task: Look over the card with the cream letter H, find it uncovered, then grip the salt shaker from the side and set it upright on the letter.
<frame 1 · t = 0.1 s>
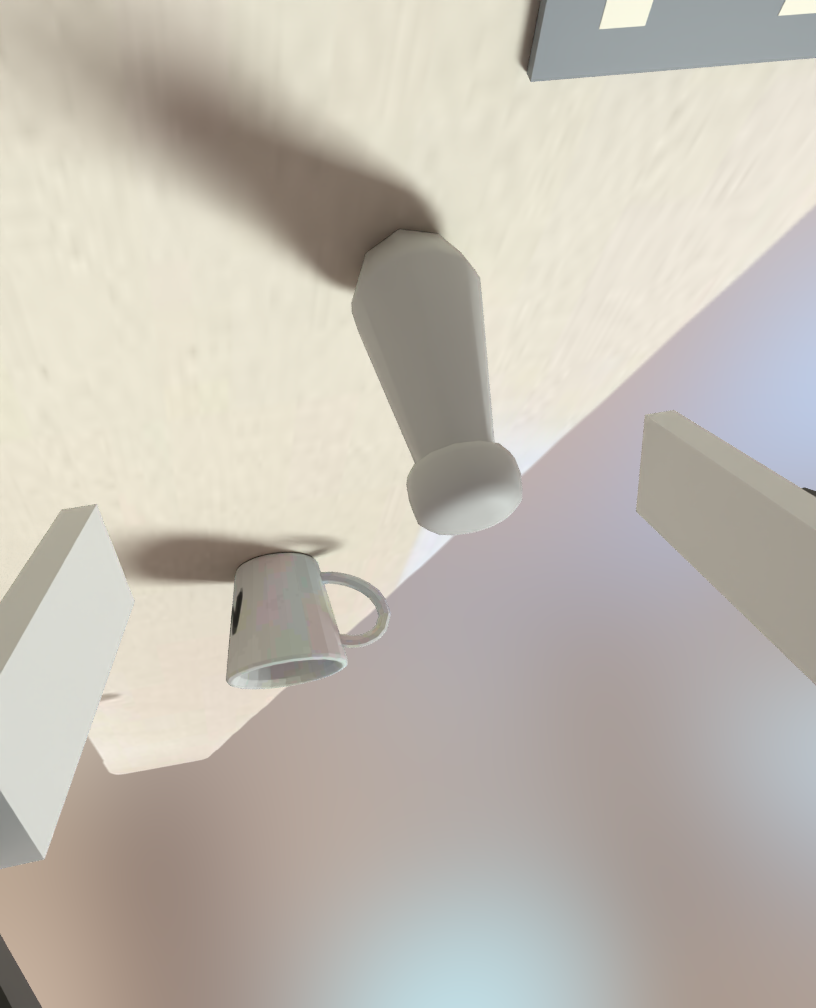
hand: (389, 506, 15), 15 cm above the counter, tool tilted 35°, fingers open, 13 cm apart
salt shaker: (406, 262, 29), on the counter
mug: (300, 560, 58), on the counter
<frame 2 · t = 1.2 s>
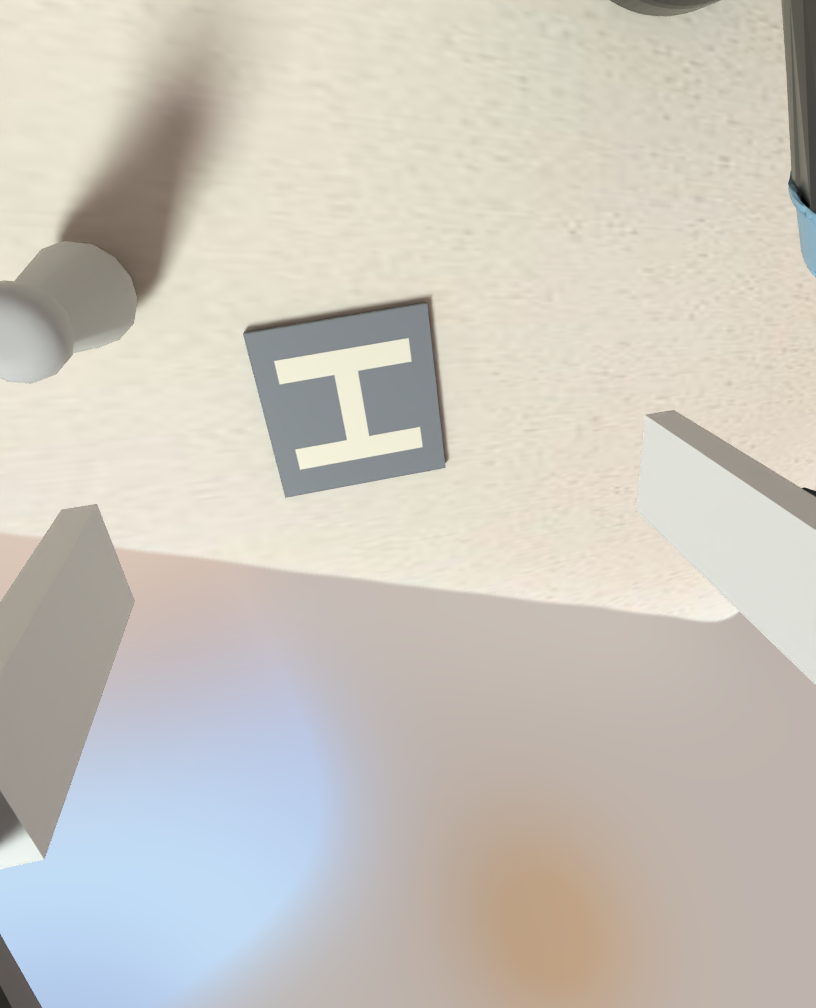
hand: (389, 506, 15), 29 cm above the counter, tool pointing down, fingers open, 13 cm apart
letter card: (351, 403, 44), on the counter
salt shaker: (95, 288, 38), on the counter
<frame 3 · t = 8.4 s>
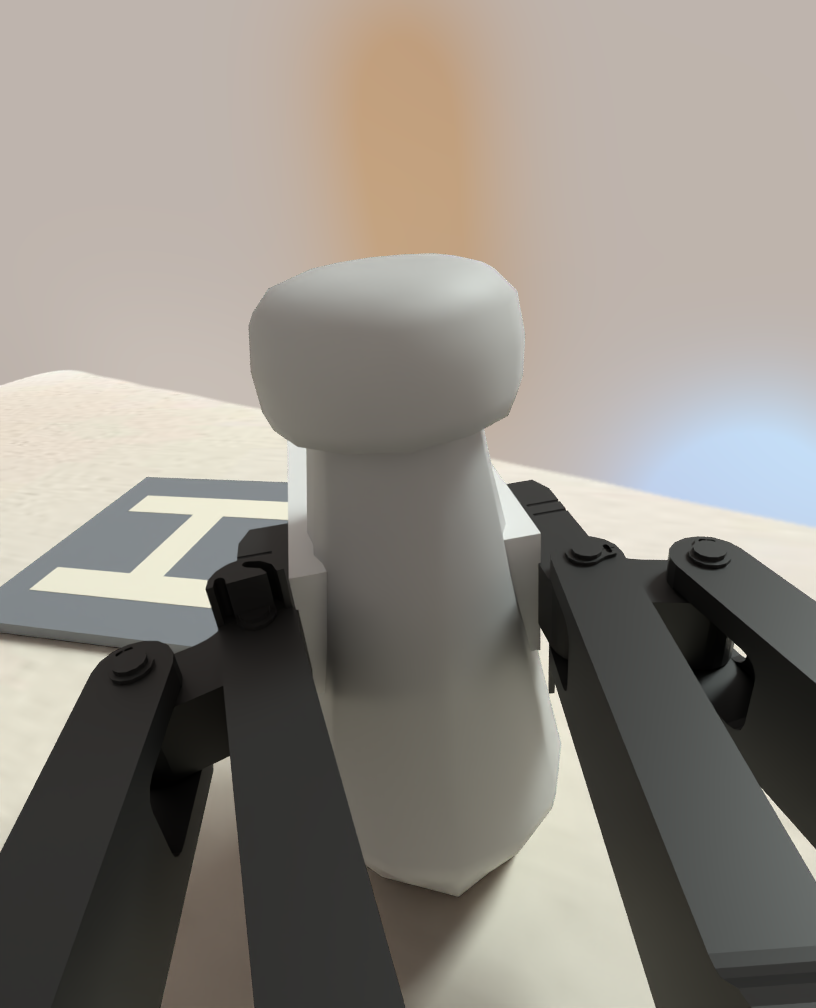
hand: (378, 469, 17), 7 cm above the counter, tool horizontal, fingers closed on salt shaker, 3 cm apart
letter card: (182, 552, 28), on the counter
salt shaker: (440, 816, 16), on the counter, touching gripper
when the fingers open (9 cm above the counter, at t = 13.6 s): salt shaker stays where it is, resting on letter card.
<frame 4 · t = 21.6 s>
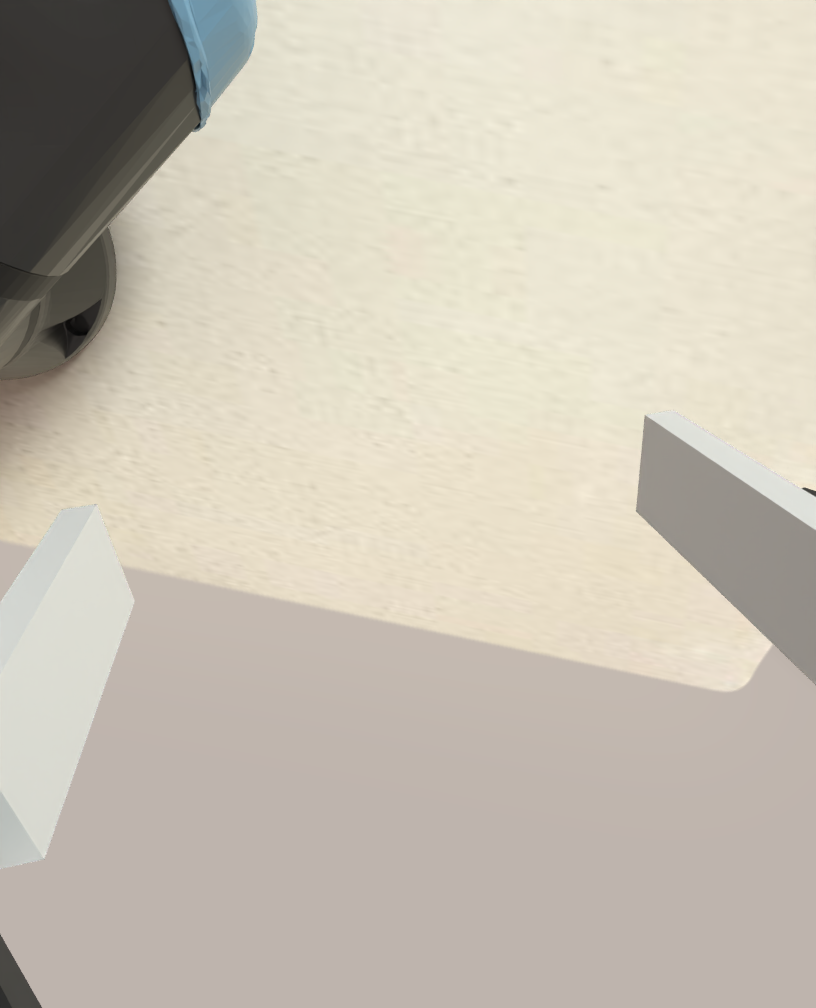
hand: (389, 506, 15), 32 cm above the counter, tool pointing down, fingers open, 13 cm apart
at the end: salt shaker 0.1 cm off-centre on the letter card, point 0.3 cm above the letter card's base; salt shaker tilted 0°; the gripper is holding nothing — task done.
